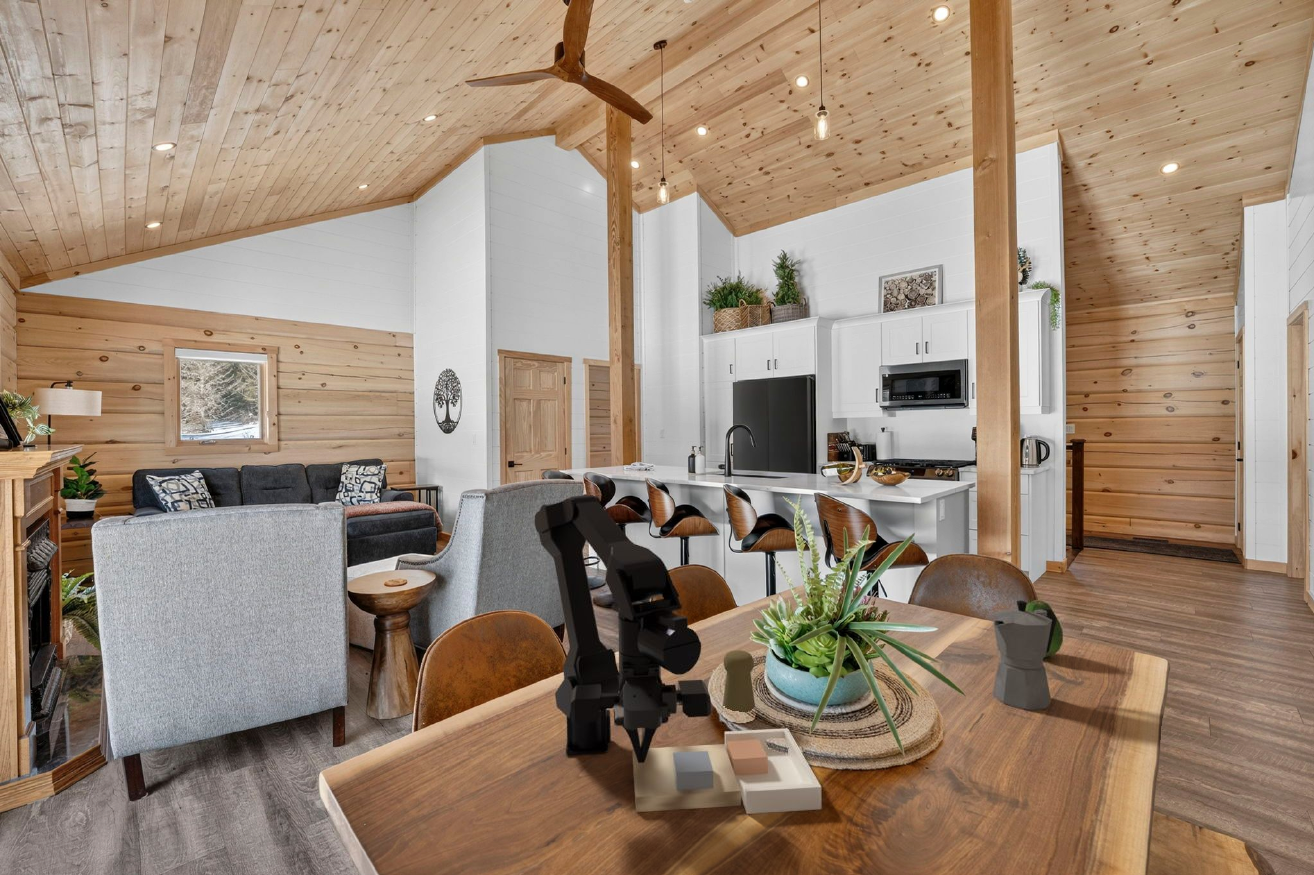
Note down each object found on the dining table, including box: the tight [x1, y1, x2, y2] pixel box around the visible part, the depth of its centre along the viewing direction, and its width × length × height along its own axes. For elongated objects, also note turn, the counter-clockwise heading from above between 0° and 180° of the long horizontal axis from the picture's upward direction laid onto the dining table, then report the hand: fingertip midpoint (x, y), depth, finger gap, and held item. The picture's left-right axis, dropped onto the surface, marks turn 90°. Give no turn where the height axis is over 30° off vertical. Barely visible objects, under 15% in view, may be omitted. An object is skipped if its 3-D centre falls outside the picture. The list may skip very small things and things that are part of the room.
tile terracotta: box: [727, 739, 768, 776], centre depth 92 cm, size 5×5×2 cm
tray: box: [724, 727, 822, 815], centre depth 90 cm, size 10×16×3 cm, turn 4°
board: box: [632, 743, 742, 813], centre depth 89 cm, size 14×12×2 cm
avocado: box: [1025, 599, 1064, 658], centre depth 133 cm, size 8×8×12 cm
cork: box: [722, 649, 756, 712], centre depth 109 cm, size 6×6×11 cm
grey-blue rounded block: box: [673, 751, 713, 790], centre depth 86 cm, size 5×5×2 cm
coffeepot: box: [991, 599, 1058, 711], centre depth 113 cm, size 15×9×18 cm, turn 113°
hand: (641, 761), depth 86 cm, fingers closed
